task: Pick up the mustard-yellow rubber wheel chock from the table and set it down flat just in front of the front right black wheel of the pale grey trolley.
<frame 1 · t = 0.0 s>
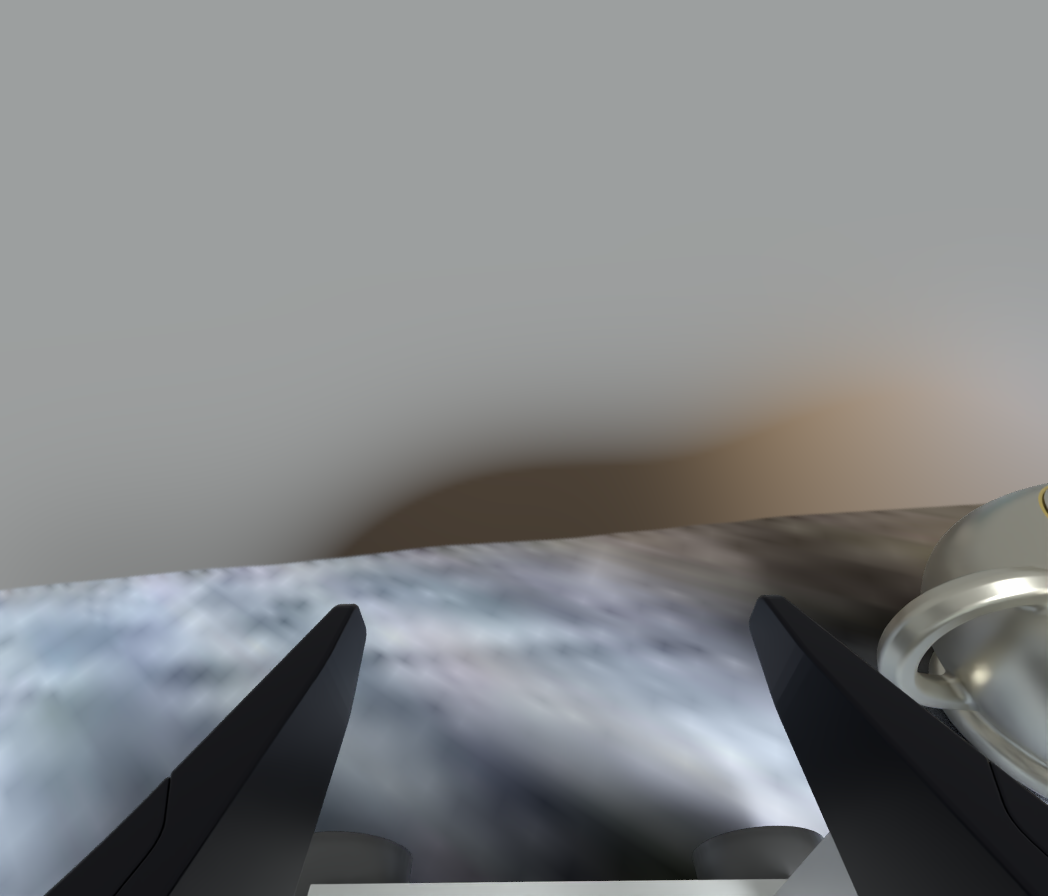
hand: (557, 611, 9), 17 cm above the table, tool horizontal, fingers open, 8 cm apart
teapot: (998, 729, 23), on the table
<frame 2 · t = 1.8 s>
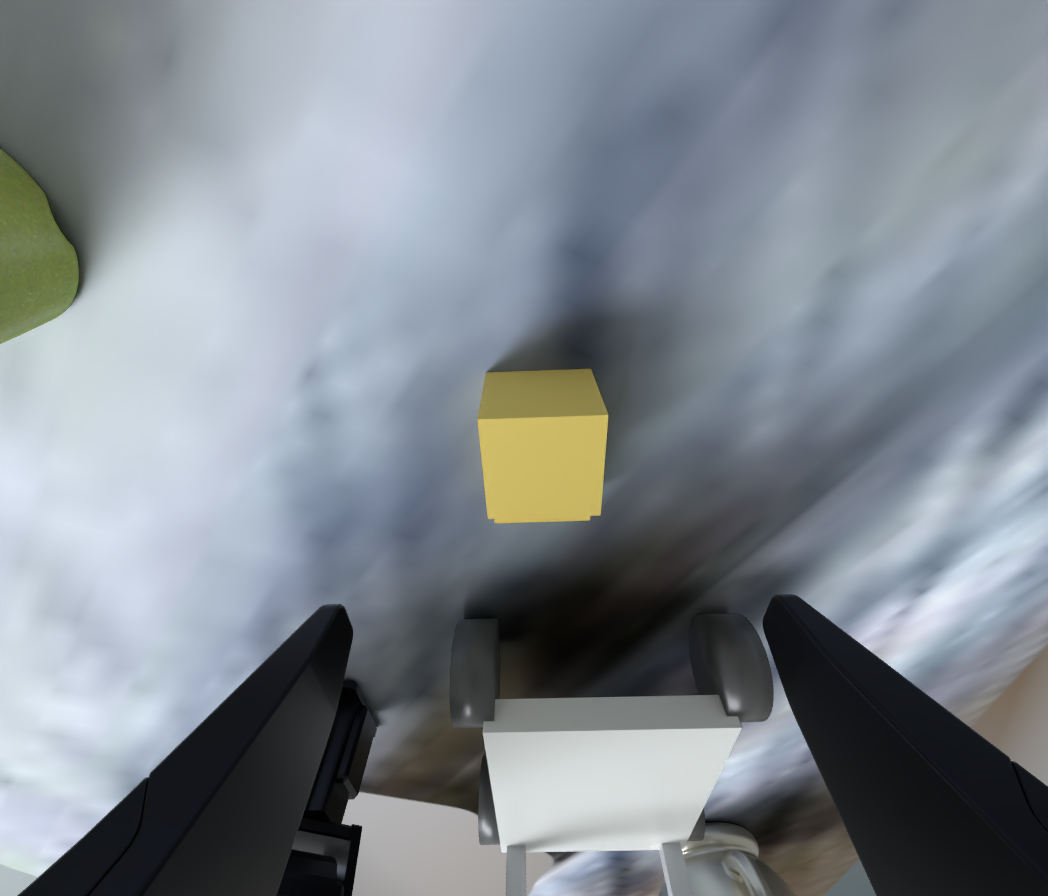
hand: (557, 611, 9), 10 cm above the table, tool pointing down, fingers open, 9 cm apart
teapot: (708, 827, 41), on the table
trolley: (587, 700, 29), on the table
wheel chock: (539, 436, 18), on the table
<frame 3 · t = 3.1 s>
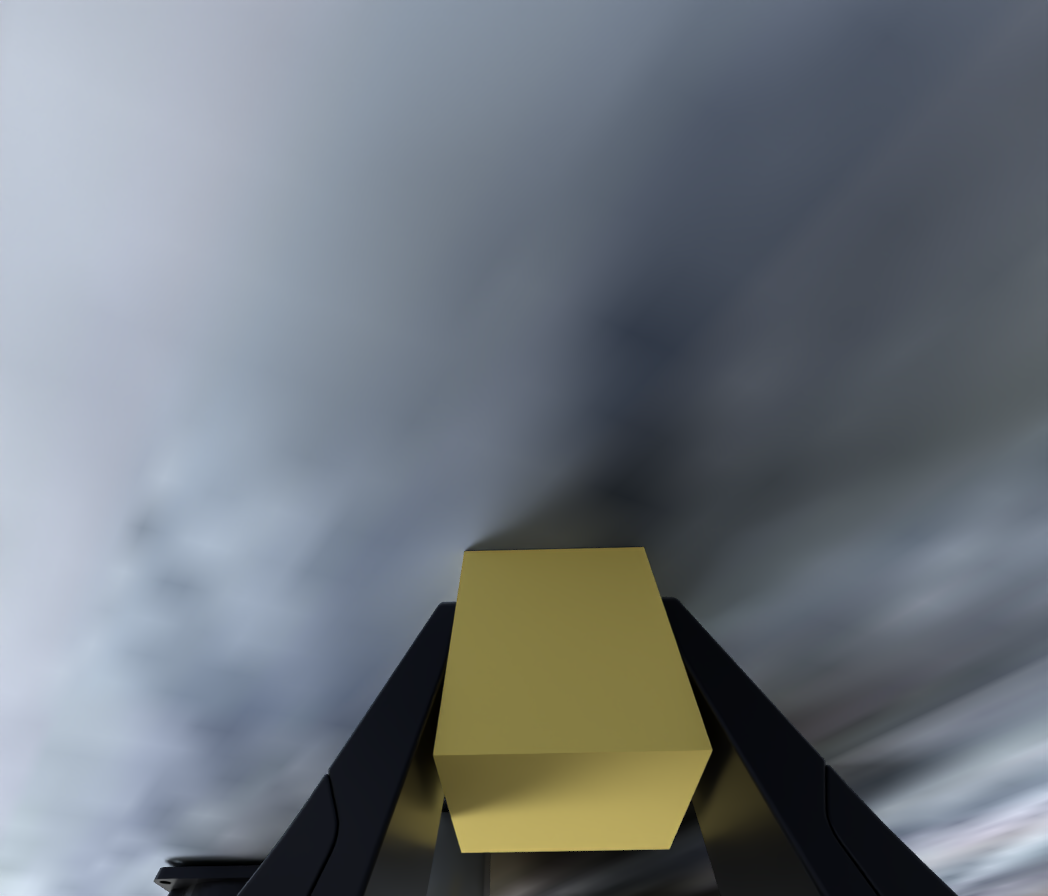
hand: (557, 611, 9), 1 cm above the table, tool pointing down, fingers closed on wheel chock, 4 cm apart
trolley: (608, 875, 21), on the table
wheel chock: (552, 632, 11), on the table, touching gripper
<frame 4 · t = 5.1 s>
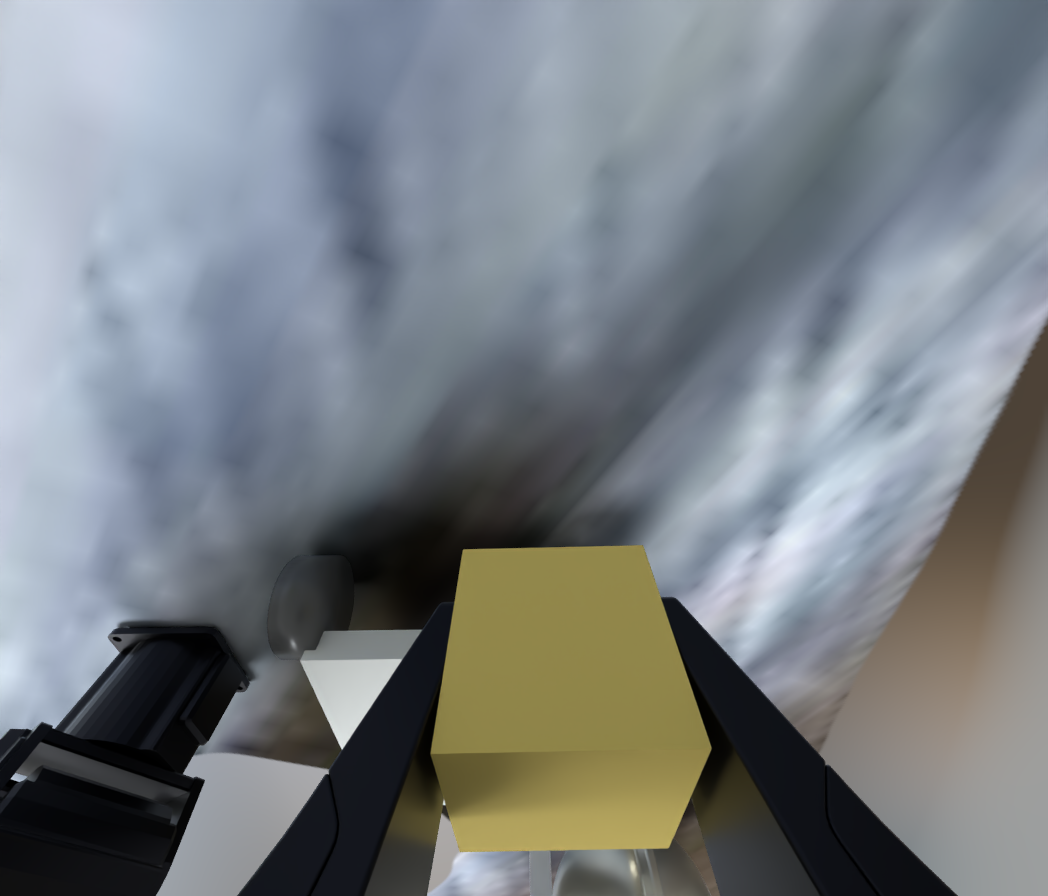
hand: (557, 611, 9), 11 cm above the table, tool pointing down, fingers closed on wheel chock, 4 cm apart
teapot: (616, 797, 41), on the table
trolley: (460, 652, 28), on the table
wheel chock: (551, 631, 11), point 10 cm above the table, touching gripper
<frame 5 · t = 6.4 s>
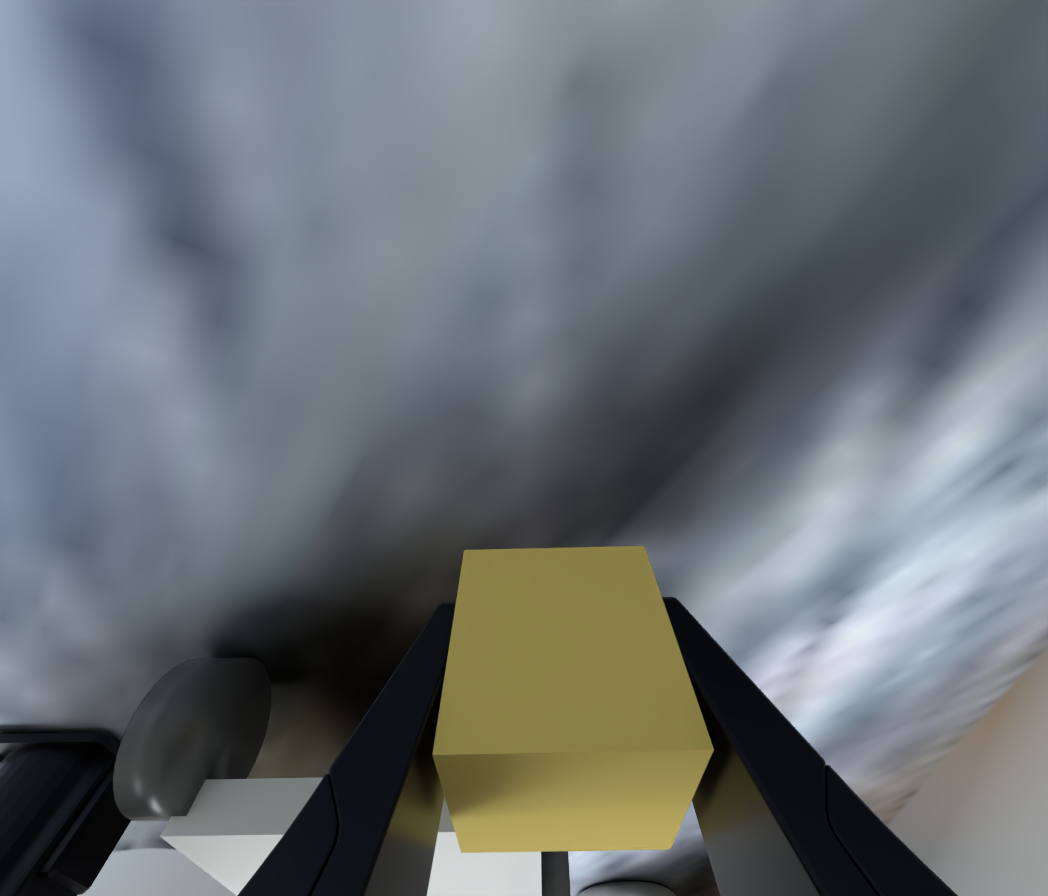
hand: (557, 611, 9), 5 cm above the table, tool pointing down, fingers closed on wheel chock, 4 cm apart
teapot: (625, 885, 35), on the table
trolley: (422, 753, 22), on the table
wheel chock: (552, 632, 11), point 4 cm above the table, touching gripper
when the fingers open (2 cm above the table, at t = 7.2 s): wheel chock drops 2 cm, on the table.
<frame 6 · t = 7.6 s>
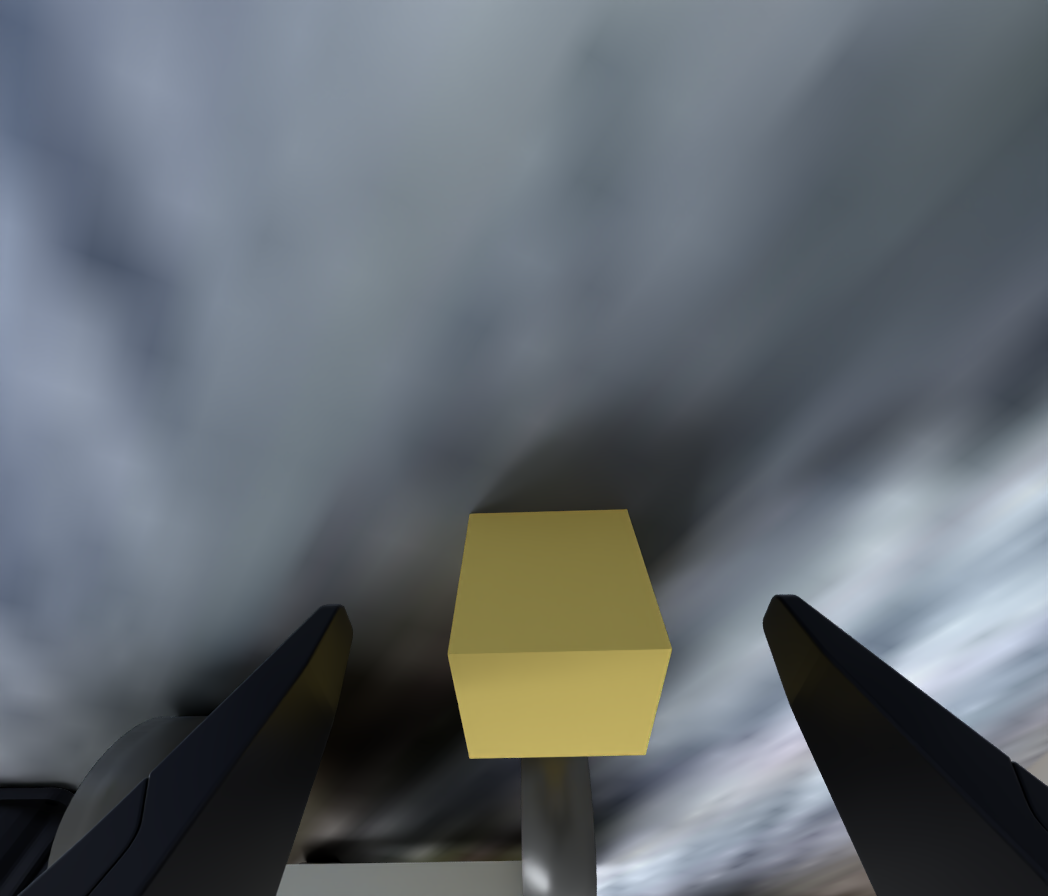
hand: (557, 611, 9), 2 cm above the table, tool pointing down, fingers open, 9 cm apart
trolley: (412, 806, 20), on the table
wheel chock: (547, 586, 13), on the table
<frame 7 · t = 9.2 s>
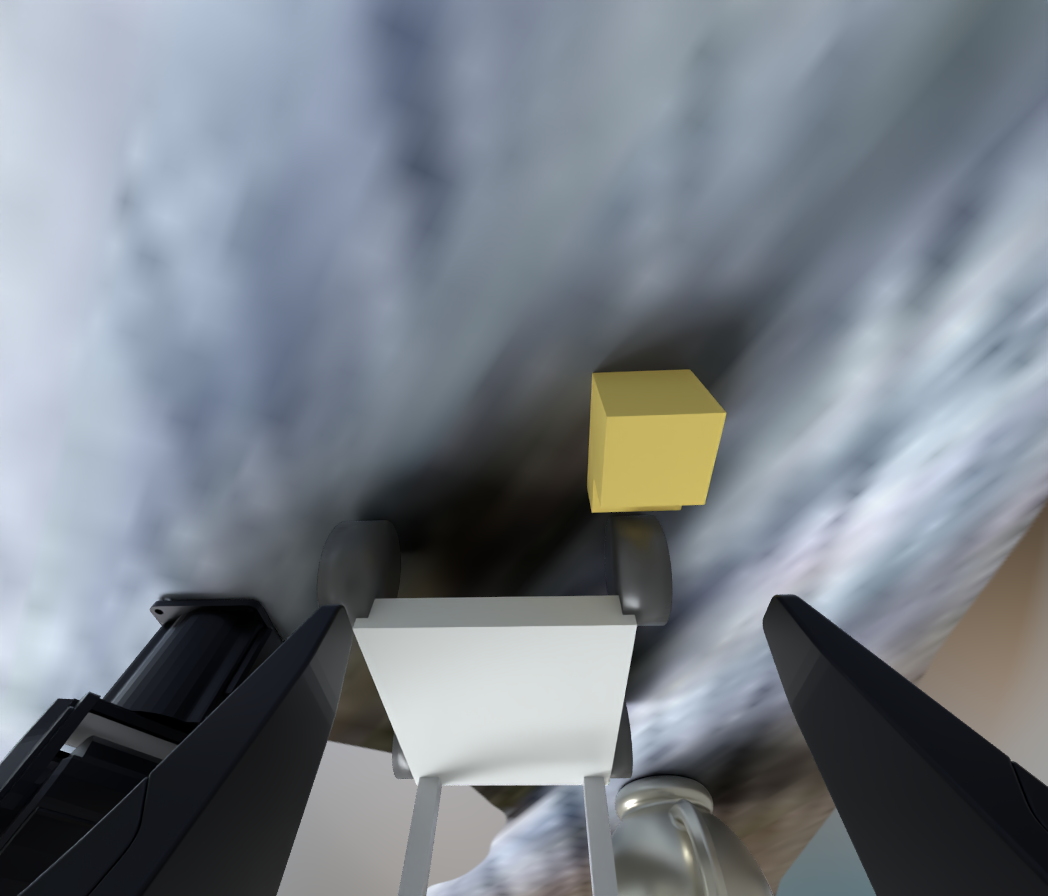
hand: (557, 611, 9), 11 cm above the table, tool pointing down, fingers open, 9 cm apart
teapot: (662, 782, 40), on the table
trolley: (508, 627, 27), on the table
wheel chock: (633, 431, 19), on the table
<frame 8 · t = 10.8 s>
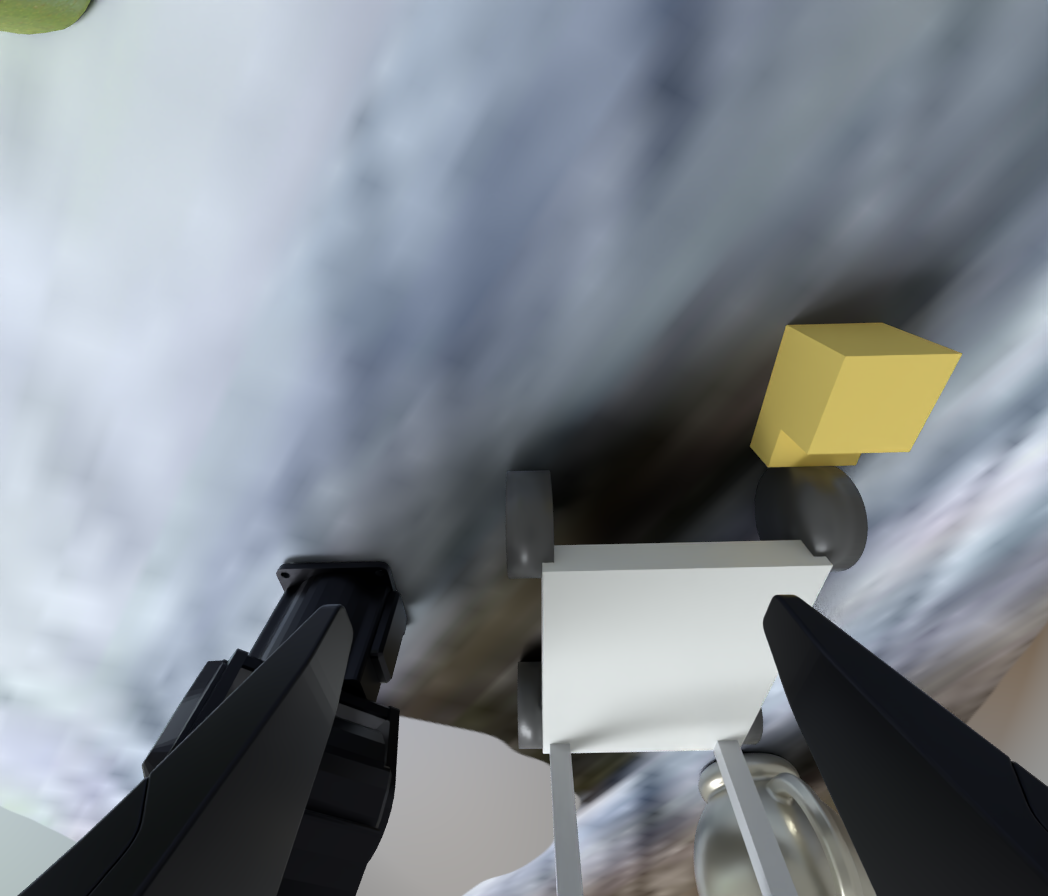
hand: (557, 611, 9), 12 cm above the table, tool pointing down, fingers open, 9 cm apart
teapot: (746, 760, 39), on the table
trolley: (635, 590, 27), on the table
wheel chock: (808, 388, 20), on the table
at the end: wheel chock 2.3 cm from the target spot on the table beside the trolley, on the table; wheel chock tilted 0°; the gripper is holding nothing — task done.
